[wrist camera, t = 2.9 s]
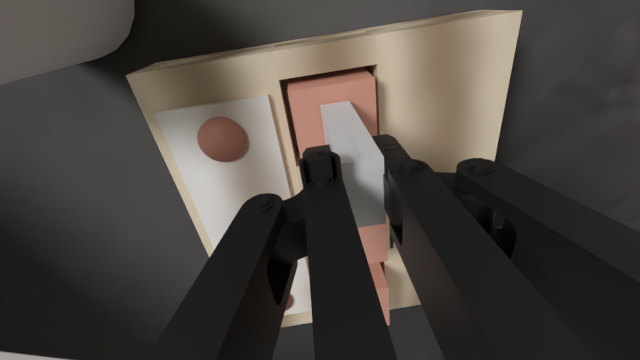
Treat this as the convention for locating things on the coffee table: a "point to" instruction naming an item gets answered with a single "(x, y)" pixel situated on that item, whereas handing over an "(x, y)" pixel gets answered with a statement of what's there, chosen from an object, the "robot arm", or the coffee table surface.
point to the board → (278, 128)
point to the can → (58, 33)
